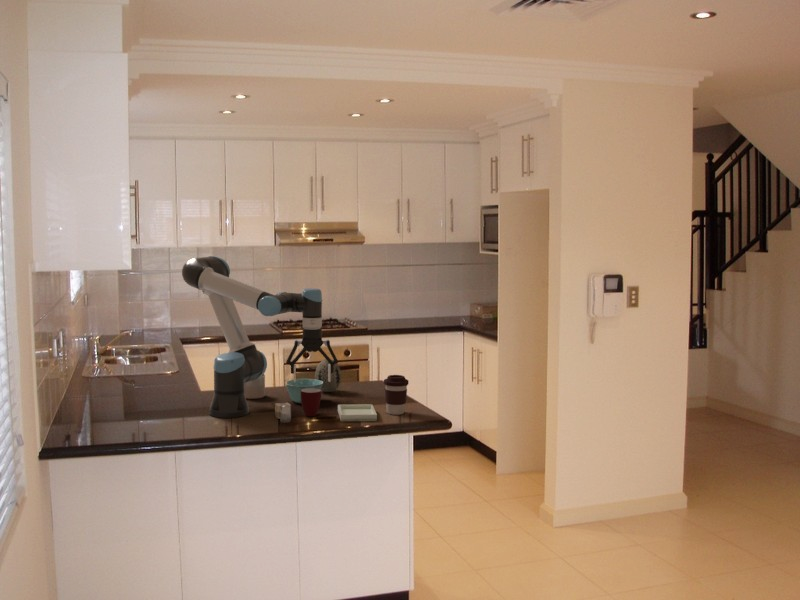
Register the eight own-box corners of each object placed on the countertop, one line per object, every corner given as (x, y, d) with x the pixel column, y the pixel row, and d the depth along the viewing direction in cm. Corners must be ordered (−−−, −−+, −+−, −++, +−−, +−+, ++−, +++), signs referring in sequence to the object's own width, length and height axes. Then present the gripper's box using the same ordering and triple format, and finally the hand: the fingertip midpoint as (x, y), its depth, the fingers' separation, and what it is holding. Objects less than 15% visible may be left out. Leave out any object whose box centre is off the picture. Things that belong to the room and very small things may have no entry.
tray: (340, 421, 316) (340, 415, 315) (337, 410, 332) (337, 404, 332) (376, 421, 318) (377, 414, 317) (372, 410, 334) (372, 404, 334)
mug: (302, 410, 330) (302, 386, 329) (322, 411, 331) (322, 387, 329) (299, 417, 320) (299, 392, 319) (319, 418, 320) (320, 392, 319)
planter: (235, 398, 349) (235, 376, 348) (245, 393, 360) (245, 371, 359) (258, 400, 347) (258, 378, 346) (268, 395, 357) (269, 373, 356)
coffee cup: (379, 410, 334) (380, 374, 332) (402, 409, 338) (403, 373, 336) (388, 416, 325) (388, 379, 323) (411, 415, 328) (412, 378, 327)
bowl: (279, 403, 342) (279, 384, 342) (294, 395, 357) (295, 377, 356) (313, 407, 338) (314, 387, 337) (328, 399, 353) (328, 380, 352)
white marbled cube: (278, 418, 317) (278, 406, 317) (275, 415, 322) (275, 403, 321) (290, 417, 319) (291, 405, 319) (287, 414, 324) (287, 402, 323)
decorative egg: (330, 396, 358) (331, 362, 356) (309, 392, 364) (309, 359, 362) (346, 391, 368) (346, 358, 366) (325, 388, 374) (325, 355, 372)
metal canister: (280, 422, 312) (280, 407, 311) (280, 419, 316) (280, 404, 315) (290, 422, 312) (291, 407, 312) (290, 419, 316) (291, 404, 316)
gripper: (280, 329, 316) (280, 383, 318) (344, 329, 320) (344, 382, 322) (280, 327, 323) (280, 380, 326) (343, 326, 327) (342, 378, 329)
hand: (312, 381), depth 324 cm, fingers open, 13 cm apart
